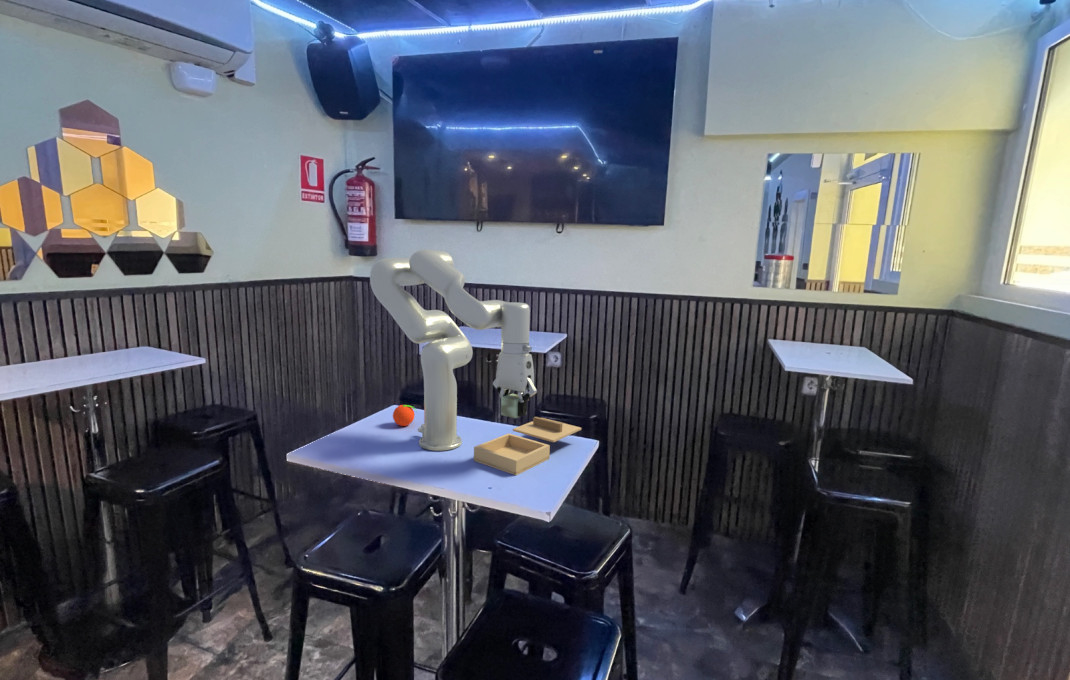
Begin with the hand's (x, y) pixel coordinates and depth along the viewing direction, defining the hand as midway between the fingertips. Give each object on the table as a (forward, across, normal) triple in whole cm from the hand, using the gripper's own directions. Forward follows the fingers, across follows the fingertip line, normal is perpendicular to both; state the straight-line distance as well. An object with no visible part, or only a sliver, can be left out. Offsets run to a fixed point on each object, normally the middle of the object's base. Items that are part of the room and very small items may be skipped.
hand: (513, 412), depth 144 cm
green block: (+1, 0, 0) cm, 1 cm away
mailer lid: (+9, 0, -17) cm, 19 cm away
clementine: (+14, +45, 0) cm, 47 cm away
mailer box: (+14, 0, 0) cm, 14 cm away
